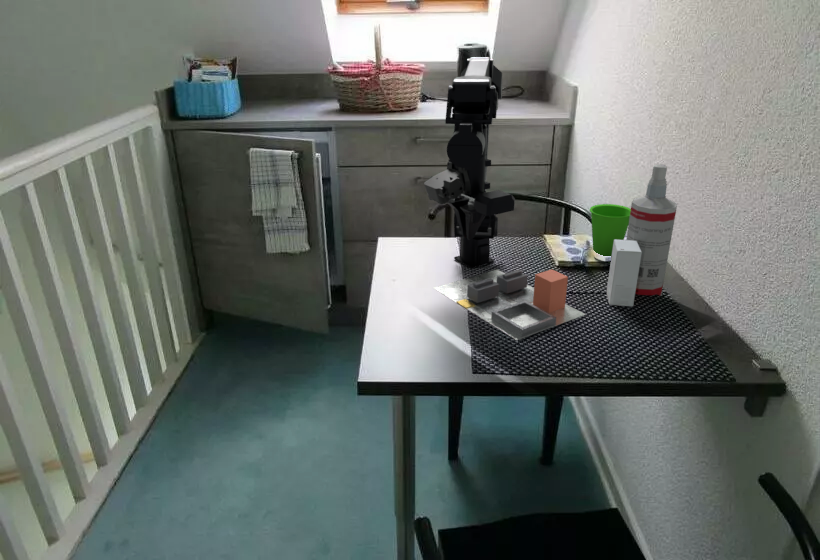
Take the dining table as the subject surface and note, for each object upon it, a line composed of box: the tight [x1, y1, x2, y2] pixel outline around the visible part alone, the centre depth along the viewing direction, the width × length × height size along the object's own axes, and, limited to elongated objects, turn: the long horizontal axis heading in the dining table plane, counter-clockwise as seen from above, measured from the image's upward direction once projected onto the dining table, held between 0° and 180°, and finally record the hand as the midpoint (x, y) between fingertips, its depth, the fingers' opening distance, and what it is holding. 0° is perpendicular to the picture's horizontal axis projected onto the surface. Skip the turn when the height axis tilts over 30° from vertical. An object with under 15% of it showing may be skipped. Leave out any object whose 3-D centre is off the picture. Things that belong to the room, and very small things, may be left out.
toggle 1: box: [467, 278, 499, 303], centre depth 110 cm, size 3×5×3 cm, turn 122°
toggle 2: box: [497, 269, 529, 294], centre depth 113 cm, size 3×5×3 cm, turn 122°
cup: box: [589, 203, 631, 256], centre depth 129 cm, size 9×9×11 cm
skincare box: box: [606, 239, 642, 307], centre depth 108 cm, size 6×4×12 cm
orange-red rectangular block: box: [533, 268, 569, 313], centre depth 106 cm, size 4×4×6 cm
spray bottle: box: [625, 163, 678, 297], centre depth 110 cm, size 8×8×25 cm
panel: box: [433, 269, 586, 341], centre depth 110 cm, size 24×16×3 cm, turn 32°
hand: (467, 237), depth 110 cm, fingers closed
